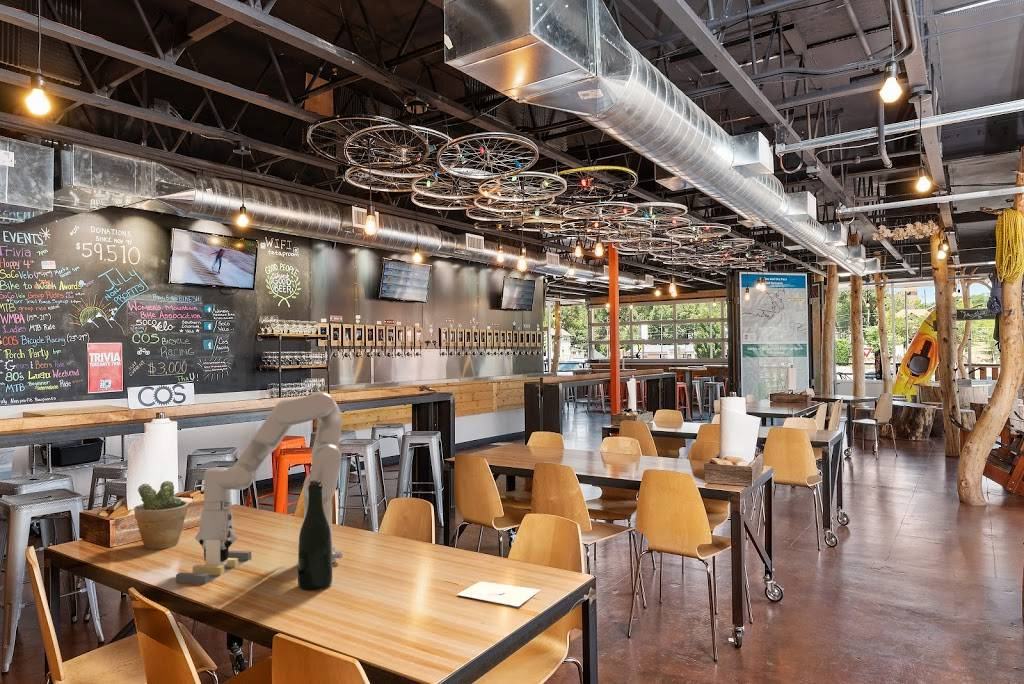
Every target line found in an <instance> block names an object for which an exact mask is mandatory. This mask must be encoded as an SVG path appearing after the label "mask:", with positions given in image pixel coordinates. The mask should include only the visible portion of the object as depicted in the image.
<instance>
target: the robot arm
mask: <svg viewBox="0 0 1024 684" xmlns="http://www.w3.org/2000/svg"><path fill="white" fill-rule="evenodd" d="M342 415H343V414H342V412H341V409H340V407H339V405H338V403H337V402H336V401H335V400H334V398H333V396H331V395H330V393H327V392H326V391H325V392H324V391H315V392H314V391H313V392H312V393H311V394H310V395H307V396H303V397H299V398H294V399H291V400H290V399H282V400H280V401H278V403H276V405H275V406H274V407H273V408H272V410H271V411H270V413H269V414H268V416H267V417H266V419H265V420H264V422H263V423H262V425H261V426H260V427H259V429H258V430H257V431H256V432H255V435H254V436H253V437H252V439H251V440H250V443H248V445H247V447H246V448H245V449H244V451H243V452H242V453H241V455H240V456H239V457H238V459H237V460H236V462H235V463H234V465H233V466H232V468H230V469H228V468H227V467H211V468H208V469H207V468H206V470H205V472H204V475H203V477H204V478H203V484H204V485H203V509H202V512H201V514H200V515H201V516H200V521H199V522H200V523H199V531H198V533H197V534H196V535H195V536H194V539H195V540H196V541H197V542H198V543H199V545H200V546H201V547H202V549H203V558H204V562H206V540H220V541H221V546H222V550H221V553H220V561H221V562H223V561H225V560H227V559H228V551H229V548H230V547H231V546H232V545H233V543H235V542H236V541H237V540H238V536H237V535H236V533H235V523H234V516H233V515H234V514H233V511H232V508H231V507H232V506H233V503H232V501H230V499H229V498H230V497H229V496H230V495H229V494H230V490H236V491H242V490H246V489H247V488H249V487H250V486H251V485H252V483H253V482H254V476H255V474H256V472H257V471H258V469H259V468H260V466H261V465H262V464H263V463H264V461H265V460H266V459H267V457H268V456H269V455H271V453H273V452H274V451H275V450H276V449H277V448H278V447H279V445H280V444H281V442H283V439H284V438H285V436H286V435H287V434H288V432H289V431H290V429H291V428H292V426H294V425H300V424H302V423H303V424H304V423H307V422H310V421H313V420H317V428H316V434H315V438H314V441H313V442H314V443H313V446H312V451H311V454H310V458H311V461H312V463H311V467H310V472H309V474H308V475H307V476H306V478H305V479H304V482H303V486H302V487H303V488H302V489H303V490H302V491H303V520H304V519H305V516H306V512H307V507H308V486H309V485H310V481H312V480H320V481H321V484H322V486H323V489H322V500H323V509H324V513H325V516H326V518H327V521H328V523H329V526H330V530H331V537H332V538H333V497H334V495H335V493H336V489H337V484H338V480H339V477H340V470H341V466H342V453H341V451H340V449H339V447H340V442H341V433H342V428H343V416H342ZM229 538H230V539H229ZM342 558H343V552H342V550H336V548H335V546H332V564H333V563H335V562H336V561H337V559H342Z"/></svg>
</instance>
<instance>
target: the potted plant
mask: <svg viewBox="0 0 1024 684" xmlns="http://www.w3.org/2000/svg"><path fill="white" fill-rule="evenodd" d="M159 488H160V489H159V490H158V492H157V491H156V490H155V489H154V488H152V486H151V485H150V483H142V484H140V485H139V486H138V489H137V491H138V494H139V496H140V498H141V502H143V503H141V504H138V505H136V506H135V507H134V508H133V510H134V518H135V520H136V524H137V528H138V532H139V534H140V537H141V541H142V543H143V546H144V548H145V549H147V550H153V551H154V550H163V549H168V548H172V547H175V546H176V545H177V544H179V541H180V538H181V534H182V531H183V527H184V522H185V518H186V516H187V514H188V508H189V507H188V506H189V502H188V501H185V500H182V499H181V498H179V497H178V496H175V485H174V482H172V481H171V480H164V481H163V482H161V484H160V487H159Z"/></svg>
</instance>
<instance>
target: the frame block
mask: <svg viewBox="0 0 1024 684" xmlns="http://www.w3.org/2000/svg"><path fill="white" fill-rule="evenodd" d="M221 550H222V546H221V541H220V540H206V561H205V565H218V566H224V565H226V564H227V560H225V561H223V562H221V561H220V553H221Z"/></svg>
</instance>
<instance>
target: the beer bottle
mask: <svg viewBox="0 0 1024 684" xmlns="http://www.w3.org/2000/svg"><path fill="white" fill-rule="evenodd" d="M322 489H323V486H322V484H321V481H320V480H312V481H310V485H309V486H308V507H307V512H306V516H305V519H304V518H303V522H302V524H301V527H300V530H299V533H298V534H299V535H298V549H297V550H298V551H297V587H298V588H299V589H301V590H302V591H303V590H304V591H309V592H311V591H319V590H323V589H327V588H329V587H330V586H331V585H332V583H333V563H332V547H333V536H332V537H331V530H330V526H329V523H328V521H327V518H326V516H325V513H324V509H323V500H322Z"/></svg>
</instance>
